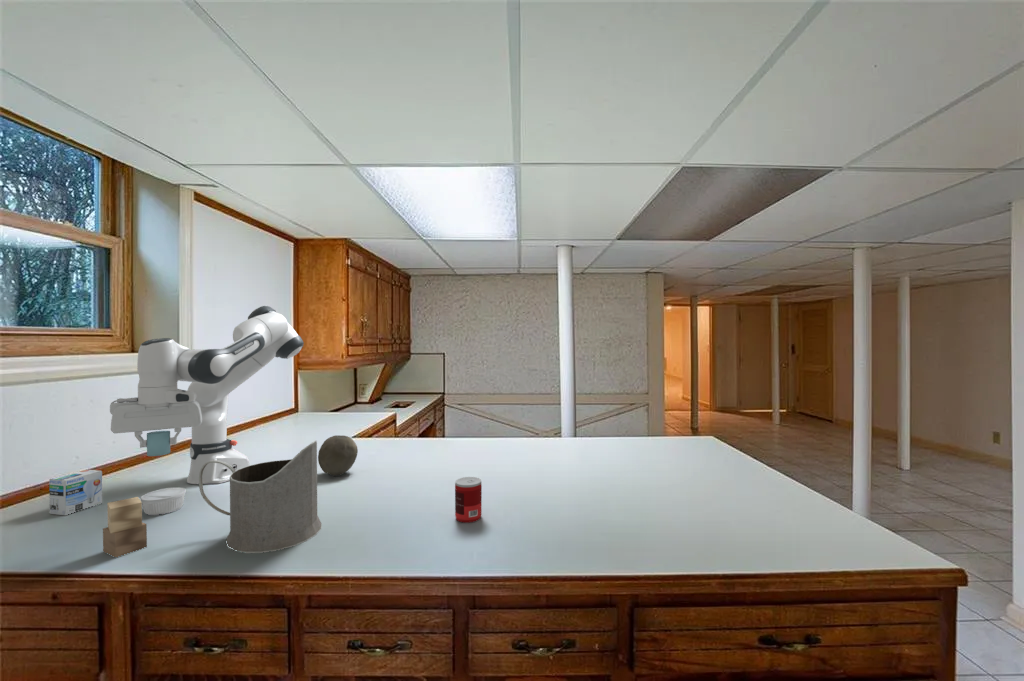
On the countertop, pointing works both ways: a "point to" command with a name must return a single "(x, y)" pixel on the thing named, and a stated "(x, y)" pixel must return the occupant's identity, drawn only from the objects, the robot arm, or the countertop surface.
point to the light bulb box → (75, 491)
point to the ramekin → (163, 500)
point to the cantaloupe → (337, 455)
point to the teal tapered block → (158, 443)
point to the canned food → (468, 499)
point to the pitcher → (272, 503)
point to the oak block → (124, 514)
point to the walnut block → (124, 540)
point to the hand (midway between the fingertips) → (158, 445)
